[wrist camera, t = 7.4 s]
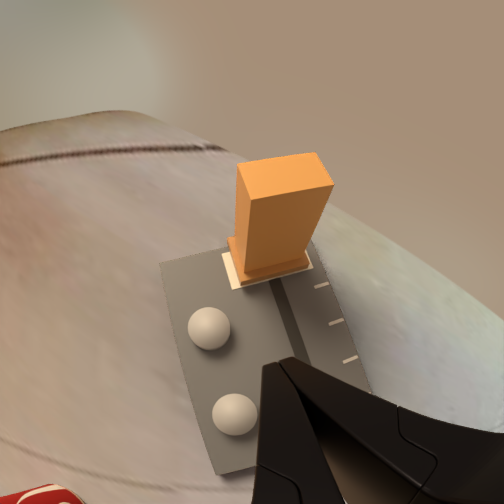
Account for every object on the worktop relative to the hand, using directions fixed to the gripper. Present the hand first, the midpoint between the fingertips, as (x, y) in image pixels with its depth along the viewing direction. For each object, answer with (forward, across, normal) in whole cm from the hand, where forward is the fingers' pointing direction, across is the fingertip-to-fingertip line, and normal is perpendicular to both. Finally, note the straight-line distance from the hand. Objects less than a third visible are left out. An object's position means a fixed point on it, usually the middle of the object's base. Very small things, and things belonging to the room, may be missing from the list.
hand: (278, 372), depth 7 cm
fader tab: (+15, -4, +2) cm, 15 cm away
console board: (+11, -2, +8) cm, 14 cm away
